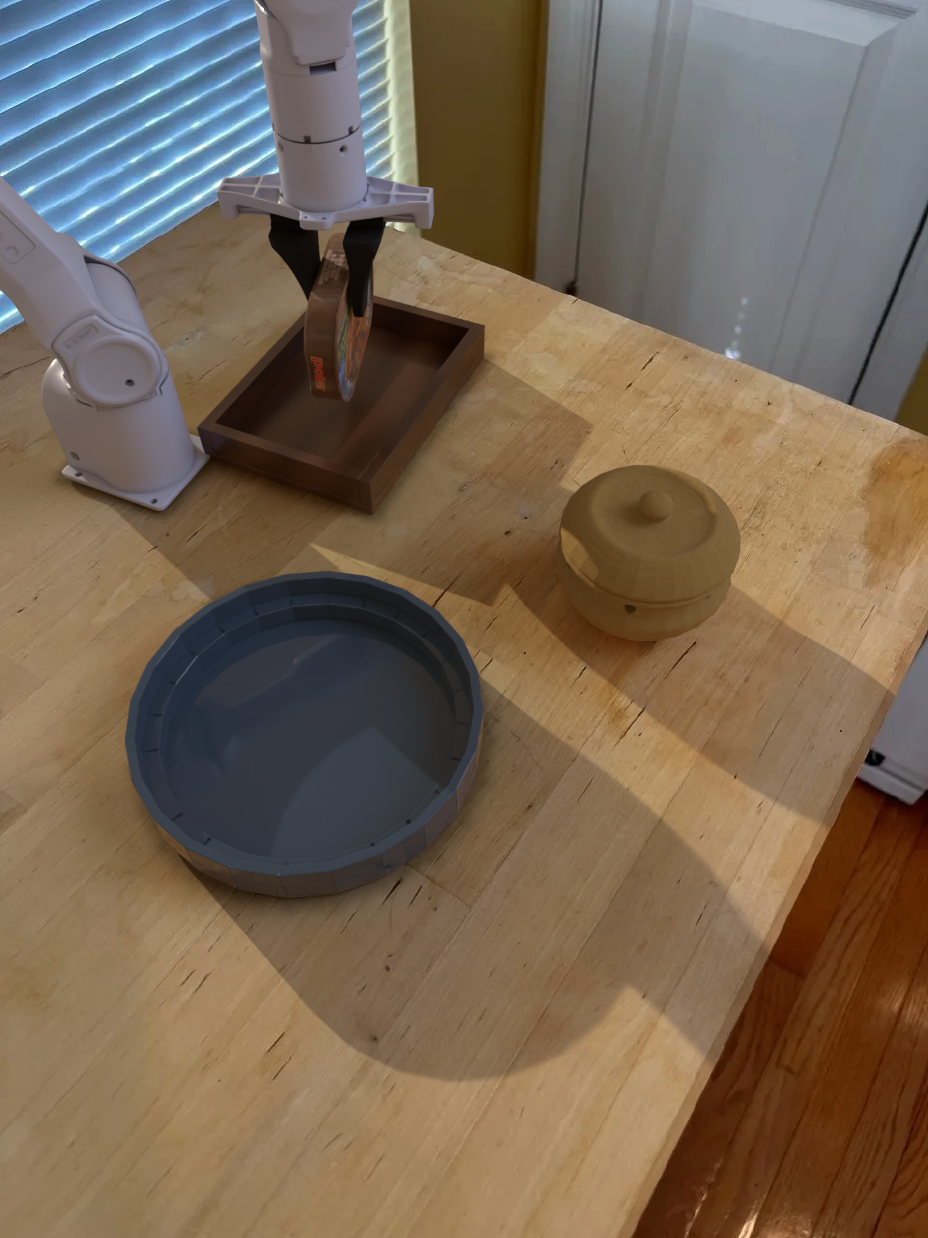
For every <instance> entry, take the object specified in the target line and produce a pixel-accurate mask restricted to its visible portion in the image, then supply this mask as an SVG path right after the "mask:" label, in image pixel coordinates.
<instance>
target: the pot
mask: <svg viewBox="0 0 928 1238" xmlns="http://www.w3.org/2000/svg"><path fill="white" fill-rule="evenodd" d="M741 536H742V535H741V532H740V528H739V525H738V521H737V519H736V518H735V515H734V514H733V512H732V511H731V509H730V507H729V506H728V504H727V503H726V502H725V500H724V499H723V498H722V497H721V496H720V495H719V493H718V492H716V491H715V489H713V488H712V487H710V486H709V485H707V484H706V483H705V482H703V481H702V480H701V479H699V478H698V477H695V476H693V475H691V474H689V473H687V472H685V471H681V470H678V469H676V468H672V467H669V466H664V465H656V464H655V465H654V464H631V465H626V466H621V467H616V468H612V469H610V470H608V471H605V472H602V473H600V474H598V475H596V476H594V477H593V478H592V479H590V480H588V481H587V482H585V483H583V484H582V485H580V486H579V488H578V489H577V490H576V491H575V492H574V493H573V494H572V495H571V496H570V497H569V499H568V501H567V503H566V505H565V507H564V509H563V511H562V515H561V519H560V525H559V529H558V537H559V540H558V541H557V544H556V551H555V556H554V565H555V574H556V578H557V580H558V583H559V585H560V587H561V590H562V592H563V594H564V596H565V597H566V598H567V600H568V602H570V604H571V605H572V606H573V608H574V609H575V611H576V612H577V613H578V614H579V615H580V616H581V617H583V618H584V620H586V621H588V622H589V623H590V624H591V625H592V626H594V627H595V628H598V629H599V630H601V631H603V632H604V633H606V634H608V635H611V636H614V637H617V638H621V639H623V640H629V641H636V642H657V641H658V642H659V641H664V640H668V639H669V640H670V639H673V638H676V637H679V636H681V635H683V634H686V633H688V632H690V631H692V630H694V629H697V628H698V627H700V626H702V624H704V623H705V622H707V620H709V619H710V618H711V617H713V615H715V614H716V613H717V612H718V609H719V608H720V607H721V606H722V605H723V603H724V601H725V600H726V598H727V596H728V592H729V589H730V587H731V584H732V575H733V574H734V572H735V570H736V567H737V564H738V561H739V559H740V555H741V545H742V544H741V542H742V541H741V540H742V539H741V538H742V537H741Z"/></svg>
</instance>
